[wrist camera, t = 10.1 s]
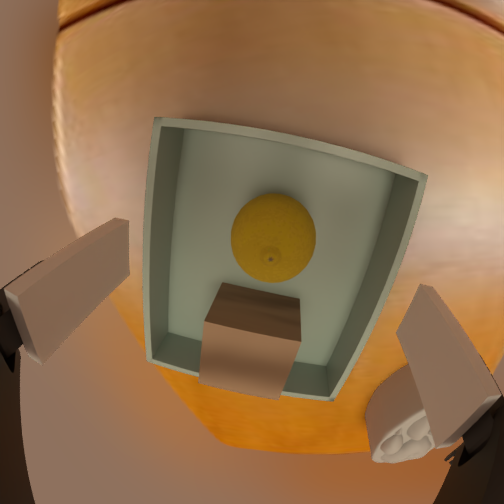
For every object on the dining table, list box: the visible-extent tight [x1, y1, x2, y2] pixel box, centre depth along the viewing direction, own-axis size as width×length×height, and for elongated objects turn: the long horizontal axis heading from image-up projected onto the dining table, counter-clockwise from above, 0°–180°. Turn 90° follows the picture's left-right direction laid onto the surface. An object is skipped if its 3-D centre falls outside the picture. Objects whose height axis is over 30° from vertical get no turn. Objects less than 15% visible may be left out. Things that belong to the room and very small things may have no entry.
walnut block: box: [198, 282, 301, 400], centre depth 23 cm, size 7×7×6 cm
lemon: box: [231, 193, 316, 283], centre depth 18 cm, size 6×6×8 cm
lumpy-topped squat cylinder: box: [365, 364, 435, 463], centre depth 25 cm, size 10×13×9 cm
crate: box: [143, 117, 428, 401], centre depth 22 cm, size 21×18×5 cm
